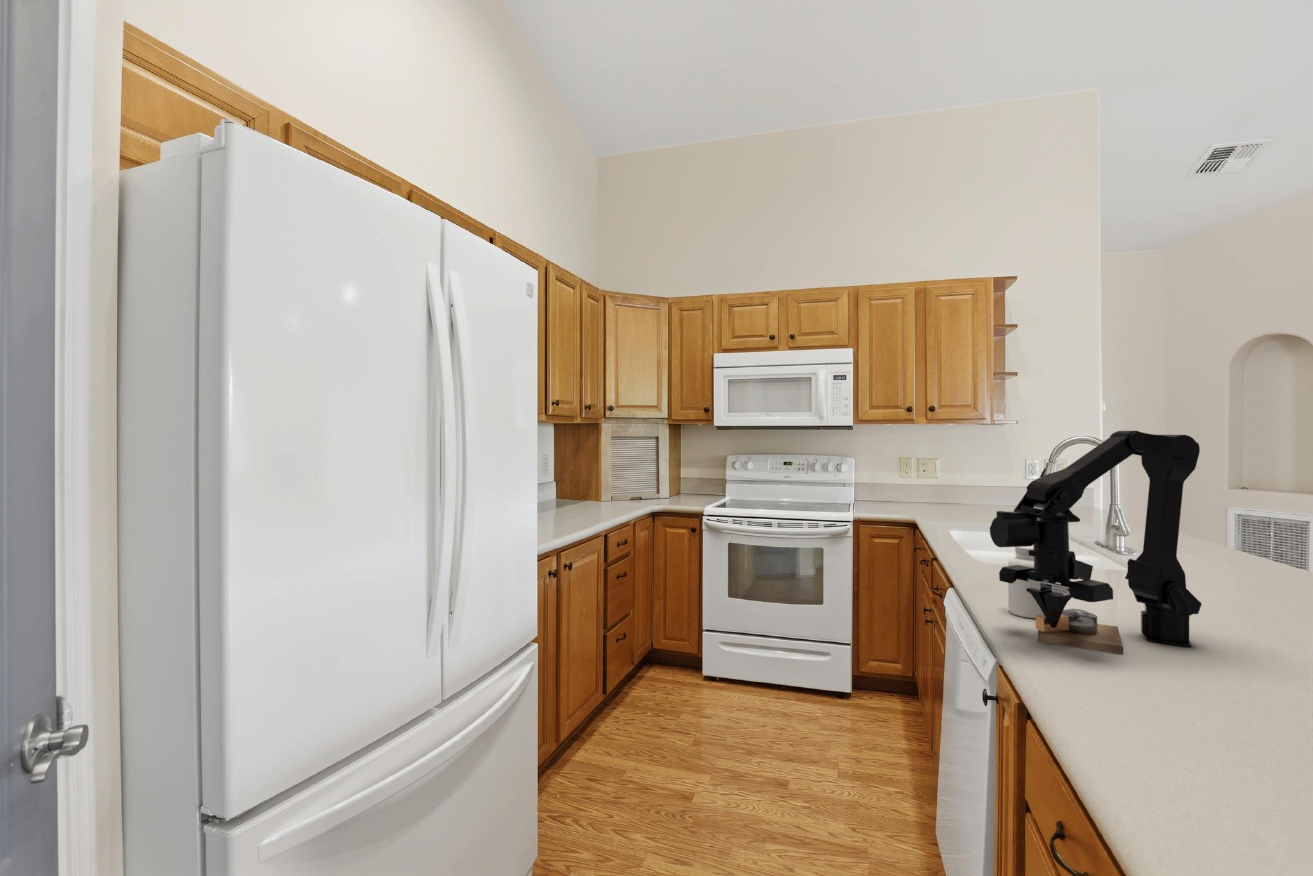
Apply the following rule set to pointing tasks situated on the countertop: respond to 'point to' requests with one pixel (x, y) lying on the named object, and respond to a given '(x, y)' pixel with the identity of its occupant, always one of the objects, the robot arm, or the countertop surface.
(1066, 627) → the metal and wood piece
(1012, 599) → the pill bottle
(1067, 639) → the base plate
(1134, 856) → the countertop surface
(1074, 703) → the countertop surface
